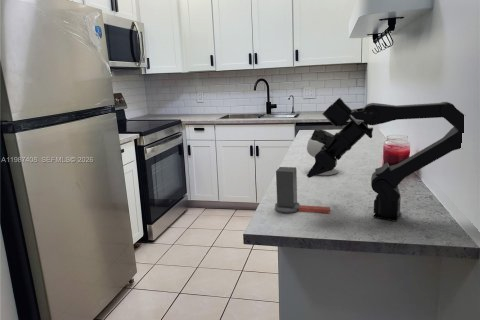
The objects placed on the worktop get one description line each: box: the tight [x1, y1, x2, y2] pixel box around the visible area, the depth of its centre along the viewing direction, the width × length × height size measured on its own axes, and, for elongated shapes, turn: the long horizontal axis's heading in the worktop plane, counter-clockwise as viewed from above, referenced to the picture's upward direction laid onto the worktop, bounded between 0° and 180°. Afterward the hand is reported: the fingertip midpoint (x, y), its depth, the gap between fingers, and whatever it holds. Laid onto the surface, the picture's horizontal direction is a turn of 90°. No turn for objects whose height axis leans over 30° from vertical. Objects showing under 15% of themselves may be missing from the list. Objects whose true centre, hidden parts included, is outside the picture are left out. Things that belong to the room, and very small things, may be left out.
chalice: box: [306, 137, 339, 176], centre depth 158 cm, size 14×14×15 cm
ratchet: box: [274, 201, 331, 215], centre depth 117 cm, size 18×8×4 cm, turn 70°
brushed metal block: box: [275, 166, 298, 208], centre depth 118 cm, size 5×5×12 cm
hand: (310, 172), depth 114 cm, fingers open, 9 cm apart
